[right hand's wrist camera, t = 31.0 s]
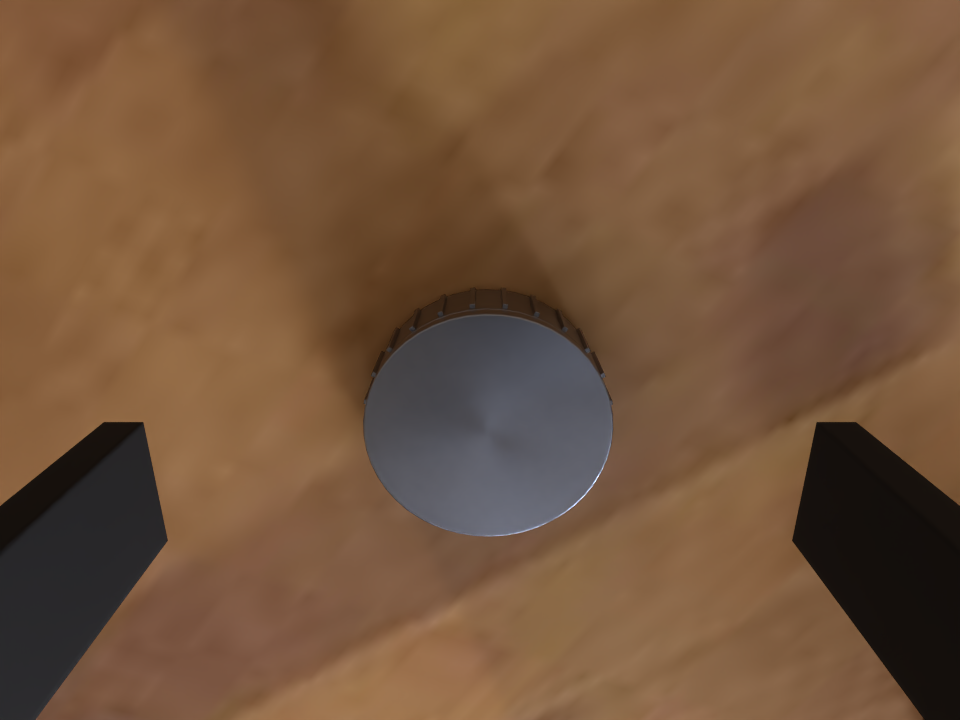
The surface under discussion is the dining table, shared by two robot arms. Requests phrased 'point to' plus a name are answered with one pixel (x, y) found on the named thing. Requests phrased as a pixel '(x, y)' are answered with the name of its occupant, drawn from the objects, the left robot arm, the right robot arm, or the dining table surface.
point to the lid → (488, 414)
